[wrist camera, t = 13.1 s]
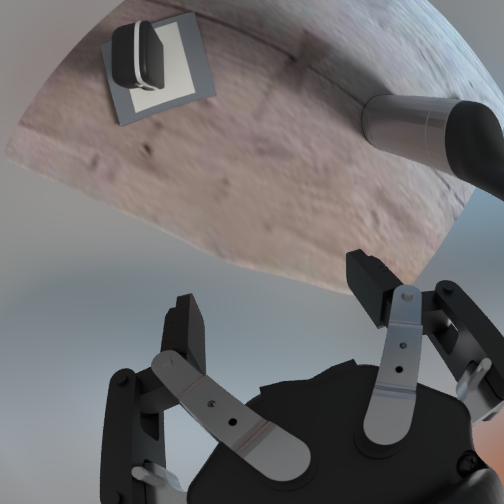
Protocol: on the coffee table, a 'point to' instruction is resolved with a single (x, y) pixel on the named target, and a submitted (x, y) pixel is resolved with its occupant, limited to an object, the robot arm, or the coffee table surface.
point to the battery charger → (137, 57)
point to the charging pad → (167, 72)
